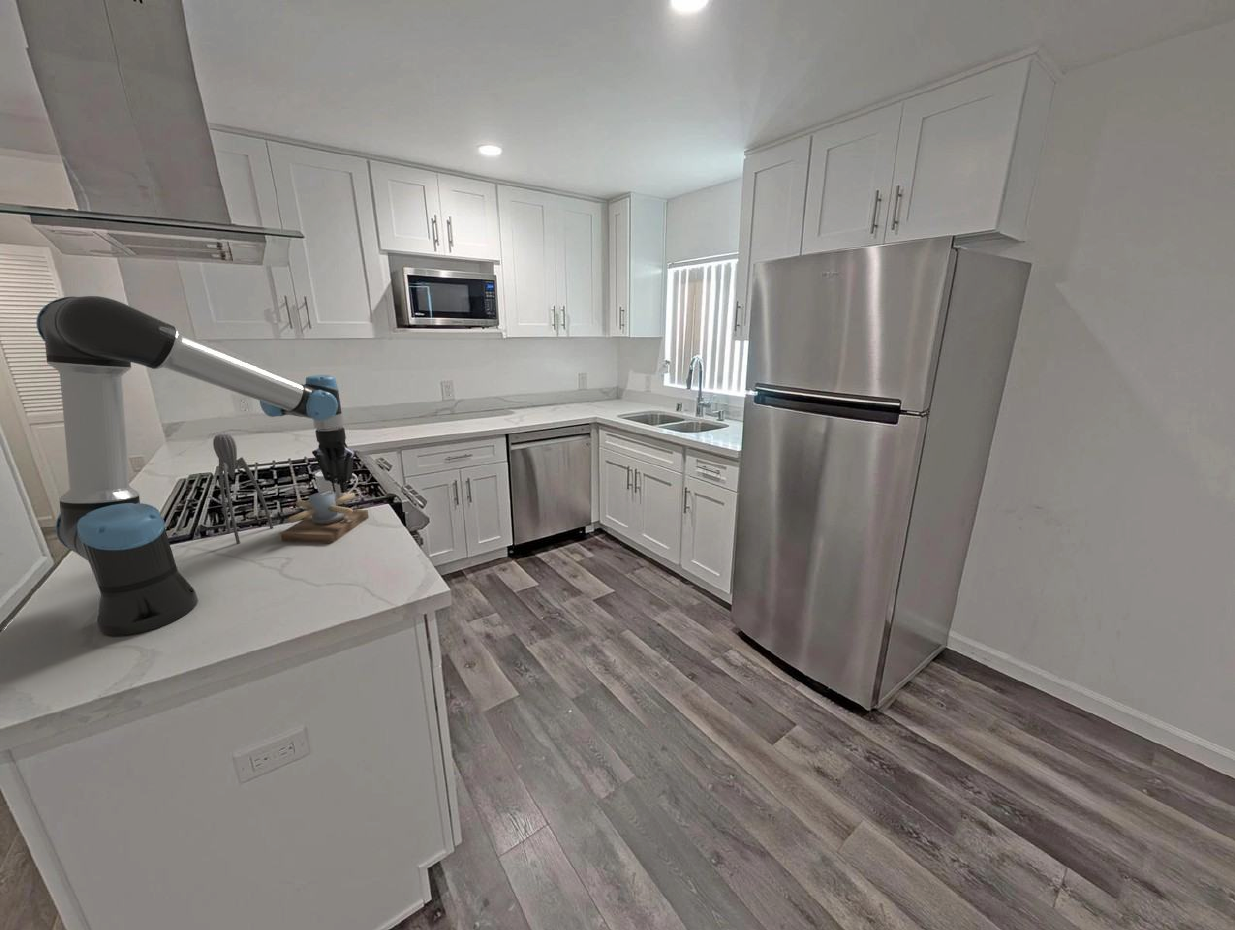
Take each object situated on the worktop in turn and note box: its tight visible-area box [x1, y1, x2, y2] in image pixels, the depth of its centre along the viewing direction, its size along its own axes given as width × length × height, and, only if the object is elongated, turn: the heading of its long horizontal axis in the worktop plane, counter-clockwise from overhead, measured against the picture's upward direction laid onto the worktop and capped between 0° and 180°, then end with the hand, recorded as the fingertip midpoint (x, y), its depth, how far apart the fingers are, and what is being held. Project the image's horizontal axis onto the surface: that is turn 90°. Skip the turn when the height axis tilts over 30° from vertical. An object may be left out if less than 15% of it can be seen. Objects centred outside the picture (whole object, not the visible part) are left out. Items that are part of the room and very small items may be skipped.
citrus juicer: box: [212, 433, 274, 545], centre depth 135 cm, size 11×10×30 cm
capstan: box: [288, 491, 356, 525], centre depth 141 cm, size 21×21×8 cm
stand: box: [279, 509, 369, 544], centre depth 142 cm, size 18×15×4 cm
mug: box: [314, 470, 359, 499], centre depth 161 cm, size 12×8×11 cm
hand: (342, 502), depth 149 cm, fingers closed
